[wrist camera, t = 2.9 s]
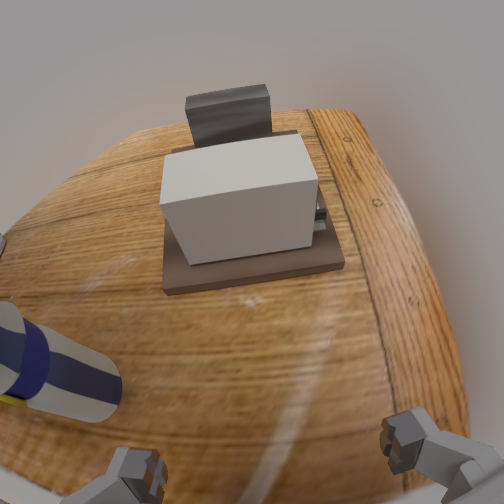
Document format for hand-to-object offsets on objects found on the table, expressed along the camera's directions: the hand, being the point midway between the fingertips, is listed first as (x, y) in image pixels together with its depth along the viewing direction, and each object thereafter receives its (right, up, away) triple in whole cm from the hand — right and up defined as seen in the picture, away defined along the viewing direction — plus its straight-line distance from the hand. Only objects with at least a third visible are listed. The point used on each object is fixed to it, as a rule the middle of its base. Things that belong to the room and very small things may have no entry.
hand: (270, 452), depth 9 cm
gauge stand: (-2, +13, +27) cm, 30 cm away
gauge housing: (0, +10, +23) cm, 25 cm away
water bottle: (-17, -7, +17) cm, 24 cm away
